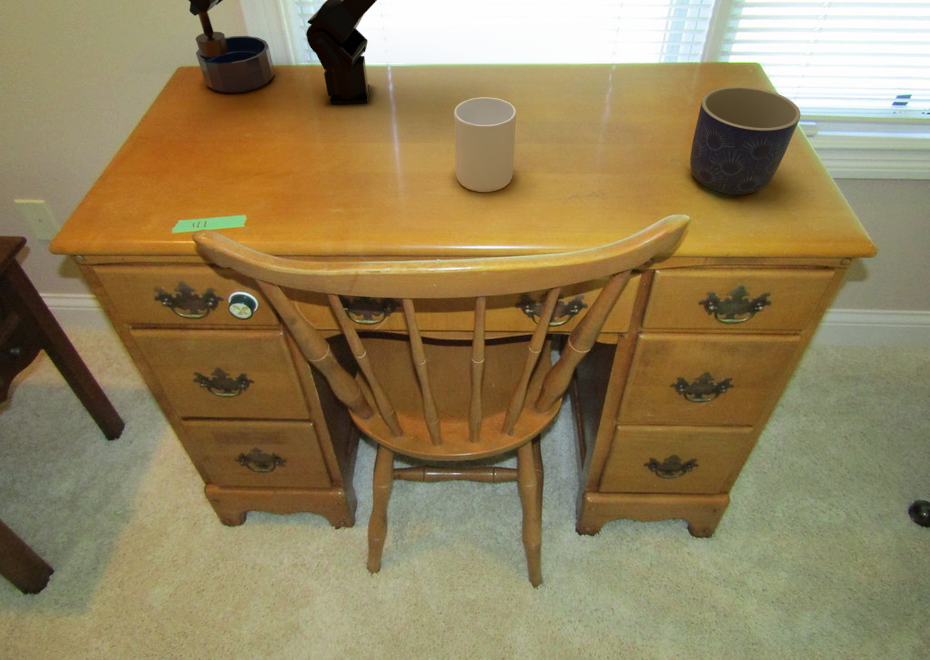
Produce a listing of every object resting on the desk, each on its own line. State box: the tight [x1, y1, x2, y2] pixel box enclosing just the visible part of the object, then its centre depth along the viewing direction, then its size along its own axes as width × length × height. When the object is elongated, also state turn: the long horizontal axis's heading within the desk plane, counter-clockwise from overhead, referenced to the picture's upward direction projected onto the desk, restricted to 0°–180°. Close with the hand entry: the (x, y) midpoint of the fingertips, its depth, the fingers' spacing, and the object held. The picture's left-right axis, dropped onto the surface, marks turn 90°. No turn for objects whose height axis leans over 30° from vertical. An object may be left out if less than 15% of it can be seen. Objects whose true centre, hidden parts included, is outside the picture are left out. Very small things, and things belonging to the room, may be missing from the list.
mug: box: [453, 96, 517, 193], centre depth 90 cm, size 12×8×10 cm
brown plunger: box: [195, 11, 228, 57], centre depth 105 cm, size 5×5×14 cm
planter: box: [689, 85, 801, 195], centre depth 87 cm, size 12×12×11 cm
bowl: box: [195, 35, 276, 94], centre depth 115 cm, size 12×12×6 cm
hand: (195, 11), depth 106 cm, fingers closed on brown plunger
